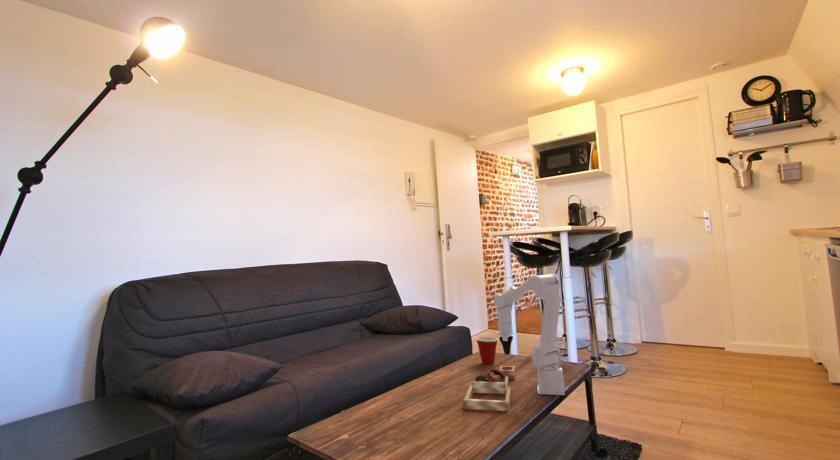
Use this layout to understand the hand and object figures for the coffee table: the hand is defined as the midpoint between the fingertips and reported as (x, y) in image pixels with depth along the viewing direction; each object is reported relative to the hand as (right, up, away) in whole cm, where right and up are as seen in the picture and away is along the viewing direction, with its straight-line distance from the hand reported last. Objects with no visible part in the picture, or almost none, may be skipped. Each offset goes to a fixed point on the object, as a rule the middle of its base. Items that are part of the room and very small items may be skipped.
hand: (507, 353), depth 167 cm
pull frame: (-7, -9, -8) cm, 14 cm away
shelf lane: (-13, -9, -26) cm, 30 cm away
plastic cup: (-4, -11, +20) cm, 23 cm away
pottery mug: (-10, -10, -14) cm, 20 cm away
